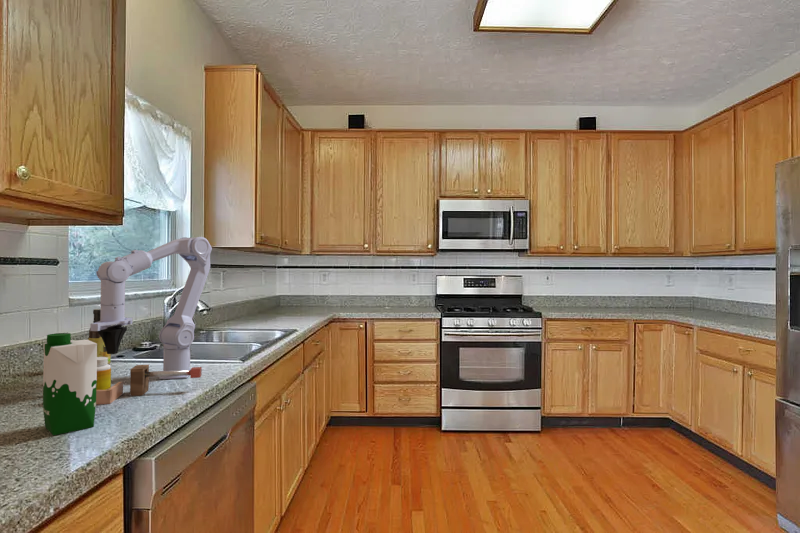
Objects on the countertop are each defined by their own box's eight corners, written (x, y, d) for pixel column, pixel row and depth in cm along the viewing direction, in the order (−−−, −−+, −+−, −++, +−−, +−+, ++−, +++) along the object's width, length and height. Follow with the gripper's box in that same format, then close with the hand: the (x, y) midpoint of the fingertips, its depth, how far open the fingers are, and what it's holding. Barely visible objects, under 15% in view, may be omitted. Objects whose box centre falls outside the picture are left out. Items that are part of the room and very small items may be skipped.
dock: (80, 395, 120) (80, 383, 120) (122, 393, 123) (123, 381, 123) (64, 406, 112) (64, 392, 112) (110, 403, 114) (110, 390, 114)
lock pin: (136, 378, 125) (136, 369, 125) (201, 375, 128) (201, 367, 128) (133, 380, 122) (134, 371, 122) (199, 377, 126) (199, 368, 126)
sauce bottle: (106, 371, 147) (107, 309, 147) (84, 372, 146) (85, 310, 146) (113, 367, 153) (114, 308, 153) (92, 368, 152) (93, 308, 152)
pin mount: (136, 390, 126) (136, 364, 126) (148, 390, 127) (148, 364, 127) (130, 396, 121) (130, 369, 121) (142, 395, 122) (142, 368, 122)
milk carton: (38, 427, 97) (40, 333, 97) (88, 417, 104) (90, 329, 104) (48, 438, 91) (49, 338, 91) (100, 426, 98) (102, 333, 98)
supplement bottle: (115, 394, 122) (116, 356, 122) (101, 401, 116) (102, 360, 116) (94, 394, 122) (95, 355, 122) (79, 400, 116) (80, 360, 116)
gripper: (109, 307, 120) (108, 359, 120) (142, 302, 134) (142, 349, 134) (82, 306, 120) (82, 358, 120) (119, 302, 134) (118, 348, 134)
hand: (112, 353), depth 127 cm, fingers closed
